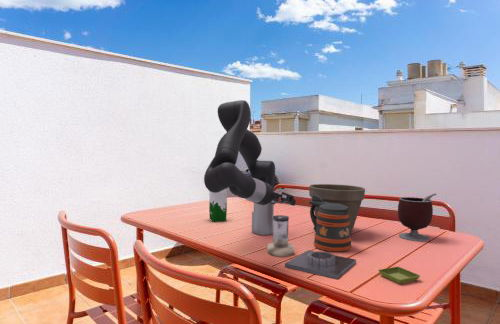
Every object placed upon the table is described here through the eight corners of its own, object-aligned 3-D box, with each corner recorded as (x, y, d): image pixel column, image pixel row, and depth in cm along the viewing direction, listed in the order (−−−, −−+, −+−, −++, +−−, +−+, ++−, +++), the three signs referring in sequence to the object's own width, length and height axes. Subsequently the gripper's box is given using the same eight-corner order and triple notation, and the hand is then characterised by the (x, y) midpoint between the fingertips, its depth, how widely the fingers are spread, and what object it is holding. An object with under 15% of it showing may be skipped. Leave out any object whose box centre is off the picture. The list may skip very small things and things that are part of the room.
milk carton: (207, 219, 188) (207, 182, 187) (223, 218, 191) (223, 182, 190) (212, 222, 180) (212, 184, 179) (228, 221, 183) (228, 183, 182)
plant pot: (362, 228, 169) (363, 184, 168) (365, 242, 145) (366, 190, 144) (311, 225, 176) (311, 182, 175) (305, 237, 152) (306, 188, 151)
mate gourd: (402, 241, 147) (403, 194, 146) (393, 233, 161) (394, 190, 160) (441, 242, 145) (442, 195, 144) (428, 234, 159) (430, 191, 158)
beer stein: (297, 244, 141) (298, 195, 140) (318, 237, 152) (319, 192, 151) (338, 255, 128) (339, 201, 127) (358, 247, 138) (359, 197, 137)
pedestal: (262, 253, 129) (262, 246, 129) (275, 246, 137) (275, 240, 137) (285, 258, 123) (285, 251, 123) (298, 251, 132) (298, 244, 131)
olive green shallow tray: (397, 272, 111) (398, 266, 111) (421, 282, 103) (421, 275, 103) (377, 276, 108) (377, 269, 108) (399, 287, 100) (399, 280, 100)
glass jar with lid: (270, 246, 129) (270, 217, 129) (277, 242, 134) (278, 214, 134) (283, 248, 126) (283, 219, 126) (291, 245, 131) (291, 216, 130)
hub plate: (284, 266, 115) (284, 257, 114) (308, 253, 129) (308, 244, 129) (337, 279, 104) (337, 268, 104) (356, 262, 119) (356, 253, 119)
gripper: (275, 180, 109) (302, 192, 121) (242, 180, 119) (270, 191, 130) (271, 203, 107) (299, 213, 119) (238, 201, 117) (267, 211, 128)
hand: (284, 202), depth 124 cm, fingers open, 8 cm apart
